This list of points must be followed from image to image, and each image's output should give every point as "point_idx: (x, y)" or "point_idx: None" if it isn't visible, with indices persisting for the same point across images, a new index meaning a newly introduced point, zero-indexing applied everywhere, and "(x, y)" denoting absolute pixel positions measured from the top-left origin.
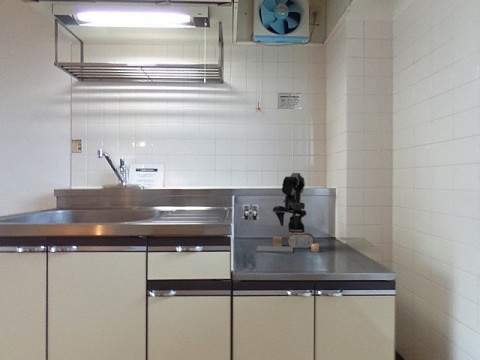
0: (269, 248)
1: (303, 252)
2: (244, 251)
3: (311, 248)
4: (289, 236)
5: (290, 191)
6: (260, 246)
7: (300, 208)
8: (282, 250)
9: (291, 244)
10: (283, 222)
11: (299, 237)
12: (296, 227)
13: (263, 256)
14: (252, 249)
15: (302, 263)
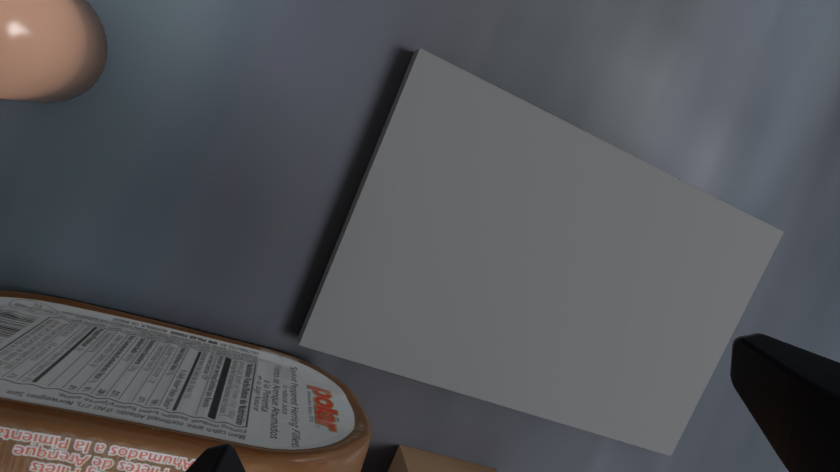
0: (619, 296)
1: (250, 47)
2: (835, 299)
3: (86, 32)
4: (349, 445)
5: None
6: (661, 424)
7: None
8: (528, 139)
9: (307, 379)
10: (826, 392)
11: (157, 401)
12: (227, 447)
13: (784, 6)
14: None
15: None
